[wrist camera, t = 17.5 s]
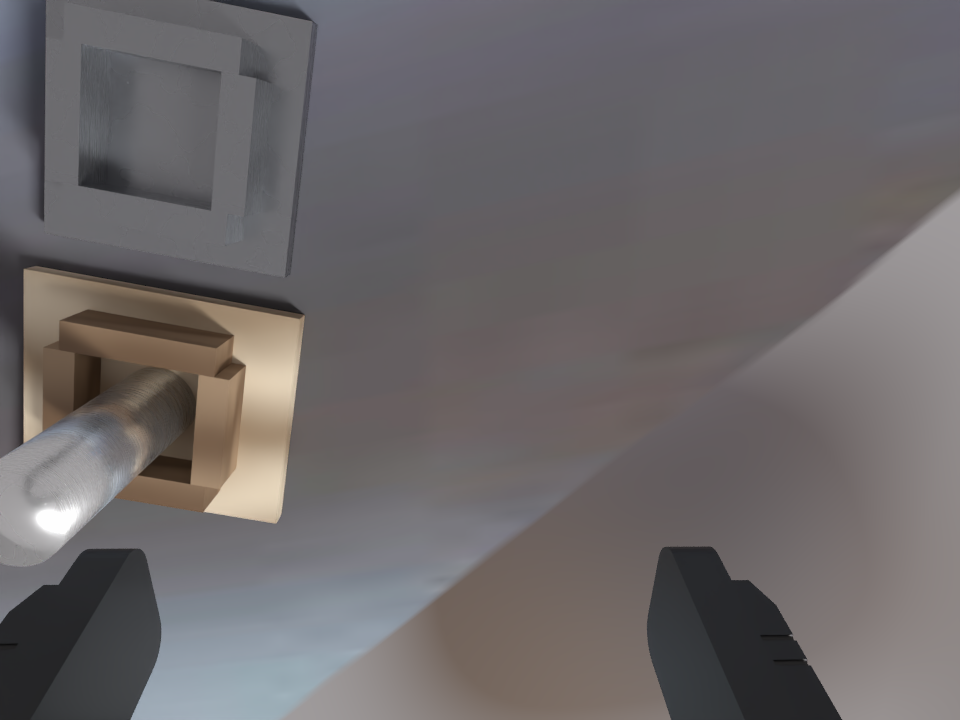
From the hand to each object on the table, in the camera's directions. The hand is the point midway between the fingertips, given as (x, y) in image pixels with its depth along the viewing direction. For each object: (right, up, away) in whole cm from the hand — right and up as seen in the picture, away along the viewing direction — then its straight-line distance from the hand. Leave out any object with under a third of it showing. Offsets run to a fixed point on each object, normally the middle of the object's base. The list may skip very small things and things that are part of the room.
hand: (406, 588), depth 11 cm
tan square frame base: (-16, +2, +27) cm, 31 cm away
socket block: (-14, +15, +23) cm, 30 cm away
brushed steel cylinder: (-16, +1, +26) cm, 31 cm away
